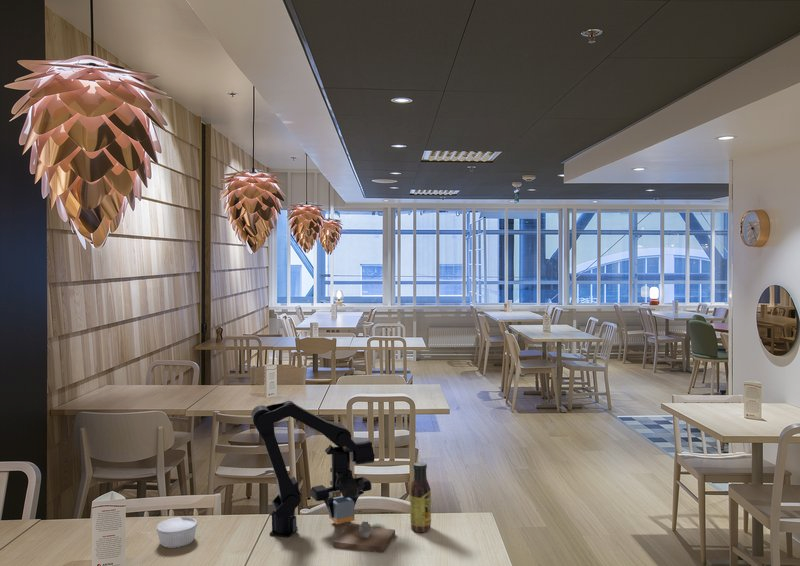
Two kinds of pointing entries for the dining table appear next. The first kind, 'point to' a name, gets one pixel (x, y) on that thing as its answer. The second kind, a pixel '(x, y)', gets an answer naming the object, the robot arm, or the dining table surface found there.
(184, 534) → the ramekin
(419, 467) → the sauce bottle
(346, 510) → the sleeve
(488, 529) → the dining table surface
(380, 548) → the pin board
